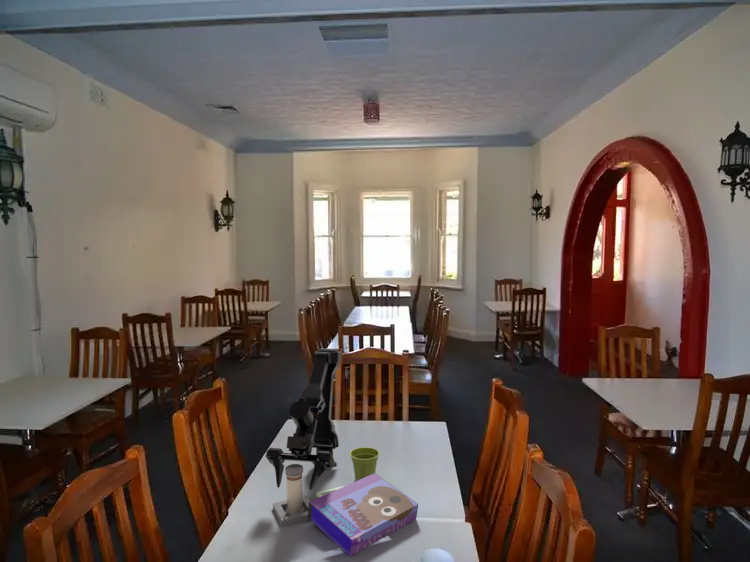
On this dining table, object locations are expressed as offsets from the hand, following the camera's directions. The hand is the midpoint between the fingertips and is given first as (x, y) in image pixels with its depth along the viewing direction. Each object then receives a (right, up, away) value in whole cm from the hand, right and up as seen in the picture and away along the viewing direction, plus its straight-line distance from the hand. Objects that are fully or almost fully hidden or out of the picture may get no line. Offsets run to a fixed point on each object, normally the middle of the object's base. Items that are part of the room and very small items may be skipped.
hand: (294, 488), depth 144 cm
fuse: (0, -7, +1) cm, 7 cm away
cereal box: (+28, -4, +5) cm, 29 cm away
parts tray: (+12, -8, +7) cm, 16 cm away
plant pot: (+19, -6, +23) cm, 30 cm away
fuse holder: (0, -8, +1) cm, 8 cm away
